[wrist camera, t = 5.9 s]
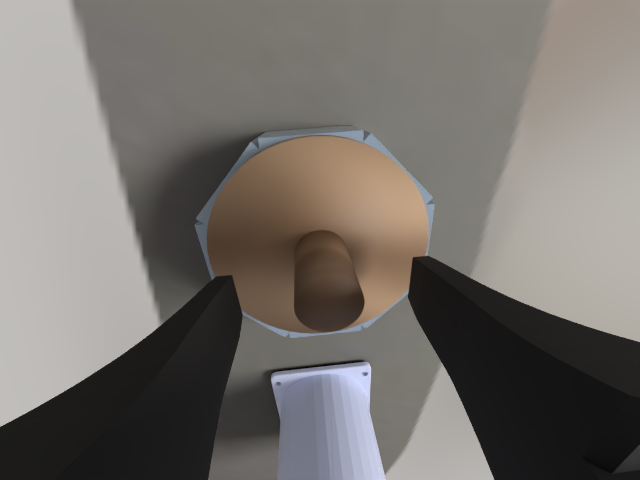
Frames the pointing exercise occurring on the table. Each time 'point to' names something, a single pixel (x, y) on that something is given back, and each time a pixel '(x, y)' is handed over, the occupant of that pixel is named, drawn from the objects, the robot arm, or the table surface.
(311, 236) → the lid
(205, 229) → the bowl
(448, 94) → the table surface
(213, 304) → the robot arm
